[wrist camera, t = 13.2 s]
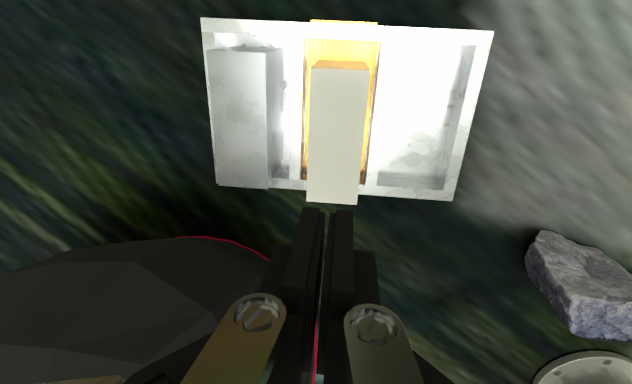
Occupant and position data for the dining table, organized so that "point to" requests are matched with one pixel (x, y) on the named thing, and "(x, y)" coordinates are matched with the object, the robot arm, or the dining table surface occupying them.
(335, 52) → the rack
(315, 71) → the off-white rectangular block
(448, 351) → the dining table surface
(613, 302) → the rock
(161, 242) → the helmet
